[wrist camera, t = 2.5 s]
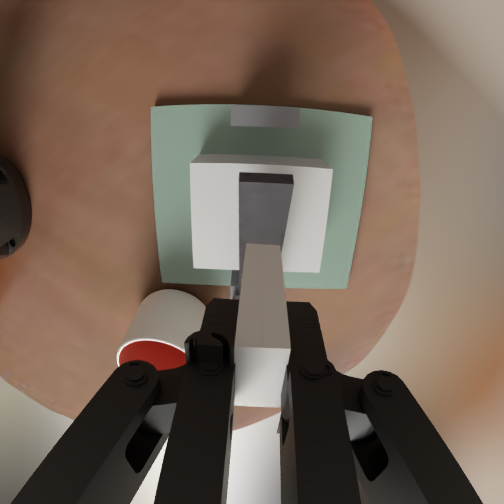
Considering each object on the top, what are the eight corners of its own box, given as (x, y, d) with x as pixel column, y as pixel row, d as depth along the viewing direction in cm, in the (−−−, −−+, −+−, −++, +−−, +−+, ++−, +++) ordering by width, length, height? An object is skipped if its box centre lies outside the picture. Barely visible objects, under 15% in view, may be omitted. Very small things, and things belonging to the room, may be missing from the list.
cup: (169, 269, 37) (146, 322, 28) (230, 318, 40) (224, 376, 31) (127, 313, 40) (102, 364, 31) (183, 354, 43) (170, 408, 34)
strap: (233, 298, 31) (232, 309, 30) (227, 169, 17) (225, 184, 17) (277, 299, 31) (277, 310, 30) (304, 173, 17) (306, 187, 17)
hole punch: (164, 277, 37) (144, 321, 30) (154, 106, 28) (121, 108, 21) (343, 283, 38) (363, 328, 30) (368, 116, 29) (404, 122, 21)
